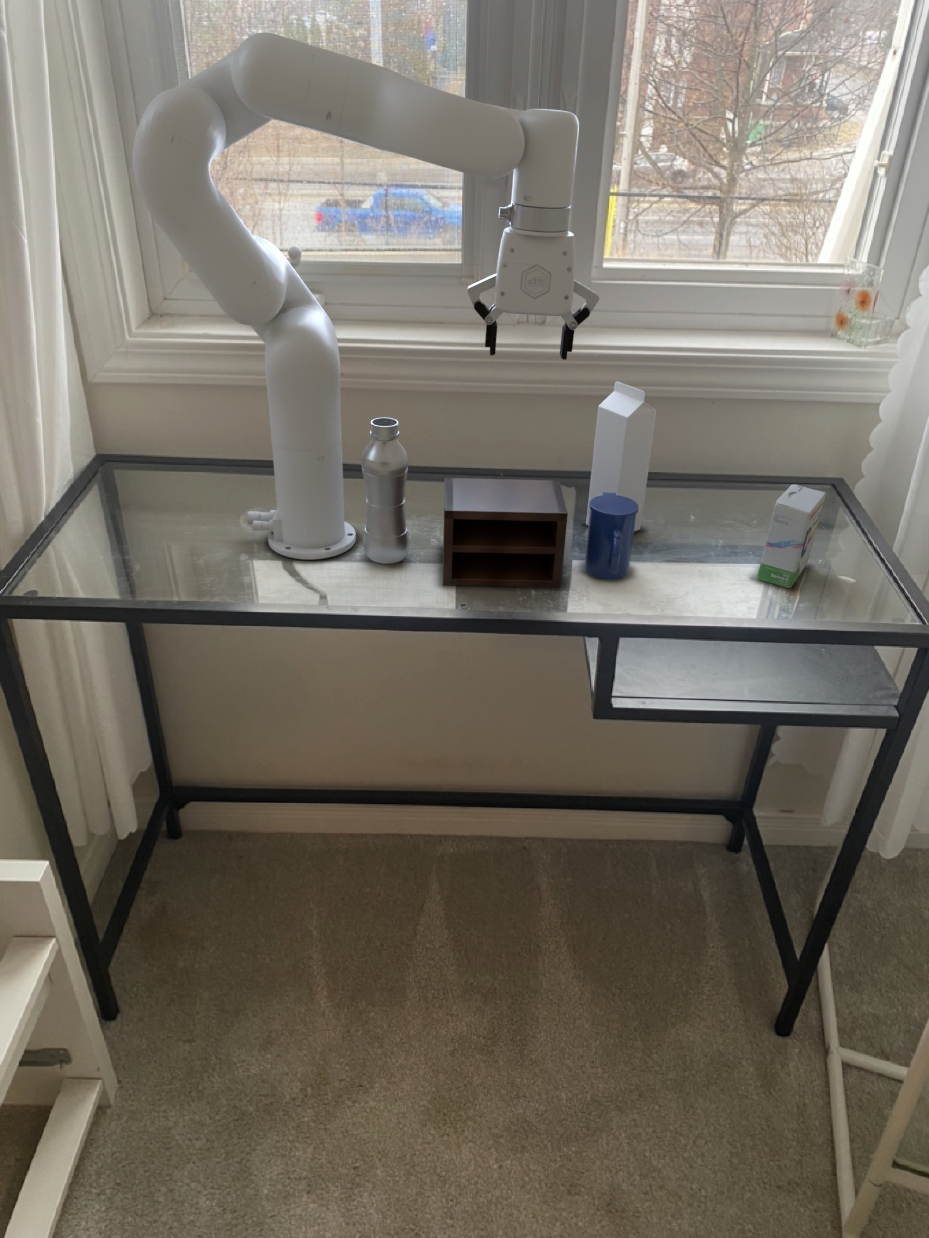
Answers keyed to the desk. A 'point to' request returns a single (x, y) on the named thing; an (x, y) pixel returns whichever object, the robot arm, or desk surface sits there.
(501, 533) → the shelf
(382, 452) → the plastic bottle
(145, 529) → the desk surface
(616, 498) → the jug
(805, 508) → the ink box
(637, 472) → the milk
